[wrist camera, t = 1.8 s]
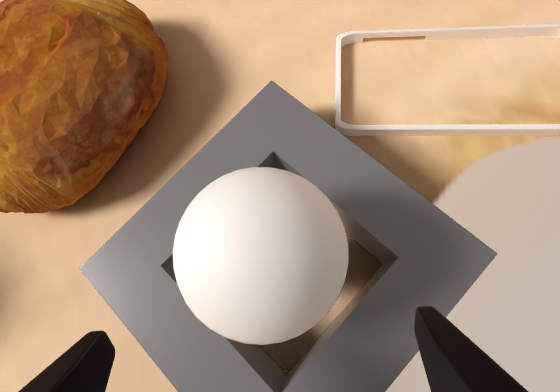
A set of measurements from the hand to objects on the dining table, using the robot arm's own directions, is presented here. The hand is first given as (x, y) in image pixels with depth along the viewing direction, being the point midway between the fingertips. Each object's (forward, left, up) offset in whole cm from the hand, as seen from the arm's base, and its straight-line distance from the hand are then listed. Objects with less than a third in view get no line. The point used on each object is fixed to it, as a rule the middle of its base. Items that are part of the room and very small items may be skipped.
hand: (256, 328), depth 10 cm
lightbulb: (+2, -2, -10) cm, 10 cm away
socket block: (+2, -2, -10) cm, 10 cm away
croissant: (+21, 0, -10) cm, 23 cm away
